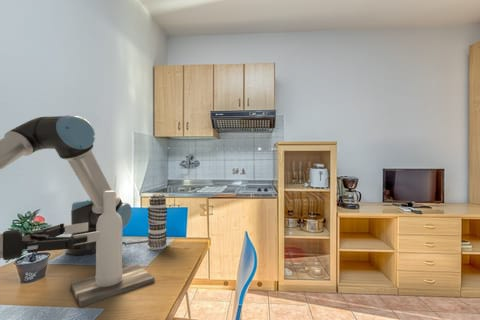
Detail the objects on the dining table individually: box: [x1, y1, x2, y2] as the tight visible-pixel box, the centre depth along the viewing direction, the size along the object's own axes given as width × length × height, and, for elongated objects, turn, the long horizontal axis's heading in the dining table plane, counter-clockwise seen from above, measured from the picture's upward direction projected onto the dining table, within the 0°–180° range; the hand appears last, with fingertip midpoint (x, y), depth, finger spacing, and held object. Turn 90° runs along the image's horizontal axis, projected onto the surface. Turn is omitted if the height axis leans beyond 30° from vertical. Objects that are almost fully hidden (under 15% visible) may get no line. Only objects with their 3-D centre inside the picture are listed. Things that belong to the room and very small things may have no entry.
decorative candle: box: [146, 193, 168, 251], centre depth 122 cm, size 9×9×25 cm
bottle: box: [95, 190, 123, 287], centre depth 84 cm, size 8×8×30 cm
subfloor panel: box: [69, 263, 155, 308], centre depth 86 cm, size 15×22×2 cm
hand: (93, 230), depth 81 cm, fingers open, 13 cm apart
